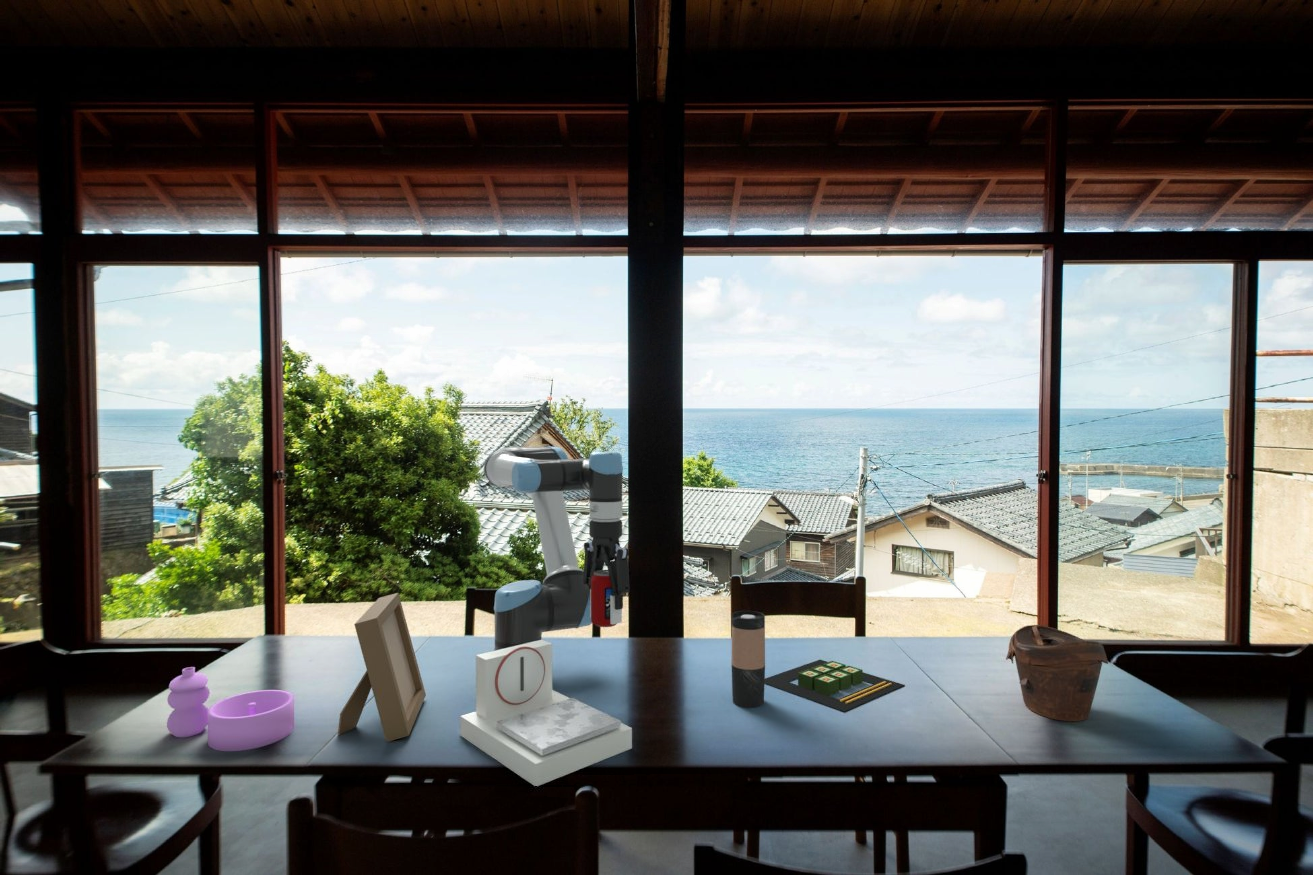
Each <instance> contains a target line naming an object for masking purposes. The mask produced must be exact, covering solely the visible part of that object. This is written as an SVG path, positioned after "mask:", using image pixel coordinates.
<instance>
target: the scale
mask: <svg viewBox="0 0 1313 875" xmlns="http://www.w3.org/2000/svg"><path fill="white" fill-rule="evenodd" d="M570 698H571V697H568V696H566V695H564V694H562V693H560V692H559V691H556V690H554V689H553V643H551V642H549V641H547V640H544V639H541V640H538V641H534V642H530V643H525V644H521V645H517V646H513V647H508V648H504V649H500V650H496V651H494V650H492V651H488V652H484V653H479V654H475V702H476V703H475V711H472V712H469V713H466V714H462V715H460V717H459V718H460V719H459V720H460V721H459V724H460V725H459V726H460V727H459V729H460V732H459V734H460V737H462V738H463V739H465V740H466V741H468V742H469V743H471V744H472V745H473V746H475V747H477V748H478V749H479V750H480V751H482V752H484V753H485V754H486V755H489V756H490V757H491V758H493V759H495V761H497V762H499V763H500V764H502V765H503V766H504V767H506V768H508V769H509V770H510V771H512V772H513V773H514V774H517V775H518V776H519V777H520V778H522V779H523V780H525V781H526V782H528V783H530V784H531V785H533V786H534V787H535V786H537V787H539V786H541V785H544V784H546V783H549V782H551V781H553V780H556V779H559V778H561V777H564V776H566V775H569V774H572V773H574V772H576V771H579V770H580V769H584V768H587V767H589V766H591V765H595V764H596V763H599V762H601V761H604V760H606V759H608V758H611V757H614V756H617V755H618V754H621V753H625V752H626V751H629V750H631V749H632V748H633V728H632V727H630V726H628V725H626V724H625V723H623V722H621V727H619V728H616V729H614V730H611V731H608V732H606V733H603V734H600V735H597V736H595V737H592V738H589V739H587V740H584V741H581V742H578V743H576V744H573V745H570V746H568V747H565V748H562V749H559V750H557V751H554V752H551V753H549V754H546V755H543V756H542V755H540V754H539V753H537V752H535V751H534V750H532V749H530V748H529V747H527V746H526V745H524V744H522V743H521V742H519V741H517V740H516V739H514V738H512V737H511V736H509V735H508V734H506V733H504V732H503V731H501V730H499V729H498V728H497V727H496V722H497V721H500V720H503V719H506V718H509V717H513V716H516V715H519V714H522V713H525V712H529V711H532V710H535V709H538V708H541V707H544V706H548V705H551V704H554V703H557V702H560V701H564V700H567V699H570Z"/></svg>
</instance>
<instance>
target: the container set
mask: <svg viewBox="0 0 1313 875" xmlns="http://www.w3.org/2000/svg"><path fill="white" fill-rule="evenodd" d="M181 672H182V673H181V675H178V676H176V677H175V678H172V680H171V681H170V683H169V685H168V689H169V691H170V692H169V694H168V695H167V700H166V701H167V704H168V706H169V707H170V708H172V709H173V710H172V712H171V713H170V714H169V716H168V719H167V721H166V728H167V730H168V732H170V734H171V735H173V736H174V737H176V738H187V737H188V738H189V737H192V736H195V735H196V736H197V735H199V734H200V733H202V732H203V731H204V730H205V728H206V727H207V745H208V747H209V748H211V749H213V750H216V751H222V752H239V751H248V750H252V749H257V748H261V747H265V746H269V745H272V744H274V743H276V742H278V741H280V740H283V739H285V738H286V737H288V736H290V735H291V733H292V732H293V731H294V729H295V696H294V694H293V693H292V692H289V691H286V690H279V689H264V690H254V691H253V690H252V691H249V692H243V693H239V694H235V695H232V696H229V697H228V696H227V697H226V698H223V699H221V700H219V701H217V702H215V703H214V704H212V705H210V707H209V708H208V707H207V706H206V705H205V703H206V702H207V700H208V699H209V697H210V688H209V687H208V686H207V685H208V681H209V678H208V676H207V675H205V674H204V673H201V672H196V667H195V666H190V667H185V668H183V669H182V670H181Z"/></svg>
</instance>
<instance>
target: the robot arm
mask: <svg viewBox="0 0 1313 875" xmlns="http://www.w3.org/2000/svg"><path fill="white" fill-rule="evenodd" d="M483 464H484V465H483V471H484V472H483V473H484V476H485V477H486V479H487V480H488V481H489V482H490V483H491V484H493V485H495V486H498V487H503V488H514V491H515V492H517V493H519V494H520V493H521V494H522V493H525V495H526V496H527V497H528V498H530V499H532V502H533V508H534V512H535V518H536V523H537V529H538V533H539V534H538V535H539V539H540V545H541V551H542V555H543V560H544V564H545V565H544V566H545V571H546V576H545V577H544V578H543V581H542V582H541V581H539V580H538V579H537V580H536V579H528V580H527V579H523V580H518V581H513V582H511V583H506V584H504V585H502V586H501V587H499V588H498V589H497V590H496V592H495V594H494V606H493V611H494V647H493V651H496V650H500V649H504V648H508V647H513V646H517V645H521V644H525V643H530V642H534V641H538V640H542V636H543V633H546V632H547V633H548V632H555V631H561V630H563V631H564V630H570V629H580V628H583V627H587V626H590V625H592V624H593V623H592V622H591V578H592V576H593V575H594V572H595V571H597V570H604V566H606V567H607V570H608V572H609V577H610V582H611V586H612V591H613V593H612V594H611V595H610V624H612V625H613V624H616V625H617V624H621V623H623V617H622V614H623V608H624V595H625V594H628V593H630V591H631V590H630V588H631V587H630V574H629V553H630V549H629V548H628V547H626V548H624V547H622V546H621V542H620V538H621V537H622V535H623V521H622V520H621V519H622V518H623V470H624V467H623V457H622V454H621V453H620V452H618V451H593V452H591V453H590V455H589V457H581V458H577V459H576V458H570V459H569V457H568V455H567V453H566V451H564V450H563V449H562V448H561V447H558V446H549V445H544V446H507V447H503V448H500V449H497V450H495V451H493V452H492V453H490V454H489V455H488V457H487V458H486V459H485V461H484V463H483ZM575 491H576V492H579V491H589V492H588V494H589V495H588V496H589V498H588V499H589V518H590V519H591V520H589V526H588V527H589V528H588V529H589V530H588V531H589V533H588V534H589V536H590V538H592V540H591V541H588V542H587V541H586V542H584V543H583V548H584V560H583V562H584V563H583V569H581V568H580V567H579V563H578V558H577V552H576V549H575V545H574V539H573V535H572V529H571V524H570V521H569V517H568V512H567V506H566V501H565V496H564V492H575ZM617 588H618V589H617Z"/></svg>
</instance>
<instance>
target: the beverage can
mask: <svg viewBox="0 0 1313 875" xmlns="http://www.w3.org/2000/svg"><path fill="white" fill-rule="evenodd" d="M617 589H618V588H617ZM612 593H613V591H612V586H611V582H610V577H609V572H608V569H603V570H597V571H595V572H594V575H593V576H592V578H591V622H592V624H593V625H595V626H596V627H599V628H611V627H614V626H616V625H617V624H613V625H612V624H610V595H611V594H612Z"/></svg>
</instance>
